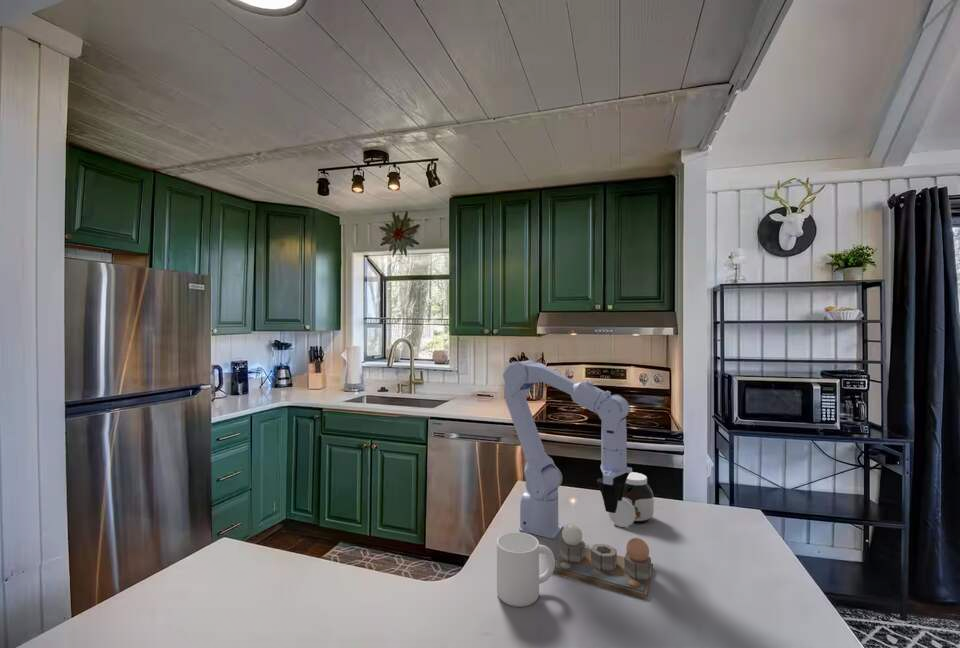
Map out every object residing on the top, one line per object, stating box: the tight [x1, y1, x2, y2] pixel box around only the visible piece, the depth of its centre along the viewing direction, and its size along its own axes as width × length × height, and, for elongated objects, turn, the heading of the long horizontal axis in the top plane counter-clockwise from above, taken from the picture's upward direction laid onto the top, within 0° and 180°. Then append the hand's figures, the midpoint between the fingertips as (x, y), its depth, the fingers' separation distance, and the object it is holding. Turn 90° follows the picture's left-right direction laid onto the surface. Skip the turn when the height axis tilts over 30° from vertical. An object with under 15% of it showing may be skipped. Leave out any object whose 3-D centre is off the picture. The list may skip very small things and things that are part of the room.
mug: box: [496, 531, 556, 608], centre depth 84 cm, size 12×8×10 cm
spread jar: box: [608, 471, 655, 528], centre depth 116 cm, size 12×11×12 cm
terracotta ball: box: [626, 537, 650, 562], centre depth 90 cm, size 4×4×4 cm
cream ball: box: [561, 523, 583, 546], centre depth 96 cm, size 4×4×4 cm
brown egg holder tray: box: [552, 538, 654, 600], centre depth 92 cm, size 19×12×4 cm, turn 62°
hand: (614, 505), depth 101 cm, fingers open, 7 cm apart
